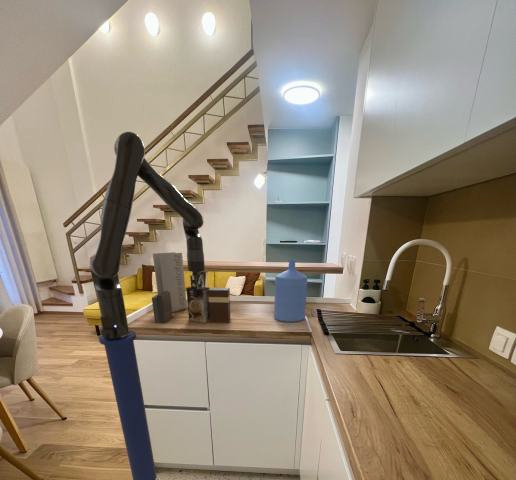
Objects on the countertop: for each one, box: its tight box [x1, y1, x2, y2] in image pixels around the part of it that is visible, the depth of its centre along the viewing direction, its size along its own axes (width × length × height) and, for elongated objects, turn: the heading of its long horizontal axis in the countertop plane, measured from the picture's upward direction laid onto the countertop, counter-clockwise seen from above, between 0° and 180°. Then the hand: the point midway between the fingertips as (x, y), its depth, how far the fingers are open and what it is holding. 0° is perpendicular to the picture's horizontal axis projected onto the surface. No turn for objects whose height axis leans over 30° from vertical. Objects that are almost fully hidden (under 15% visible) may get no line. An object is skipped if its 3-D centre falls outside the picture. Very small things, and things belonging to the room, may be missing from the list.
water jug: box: [273, 260, 308, 323], centre depth 136 cm, size 16×16×28 cm
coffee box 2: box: [208, 287, 231, 324], centre depth 133 cm, size 6×9×16 cm
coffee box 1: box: [185, 286, 210, 324], centre depth 134 cm, size 9×6×16 cm
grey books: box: [151, 291, 173, 324], centre depth 135 cm, size 11×5×13 cm, turn 178°
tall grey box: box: [152, 252, 188, 313], centre depth 148 cm, size 14×6×30 cm, turn 147°
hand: (198, 295), depth 132 cm, fingers closed on coffee box 1, 7 cm apart
